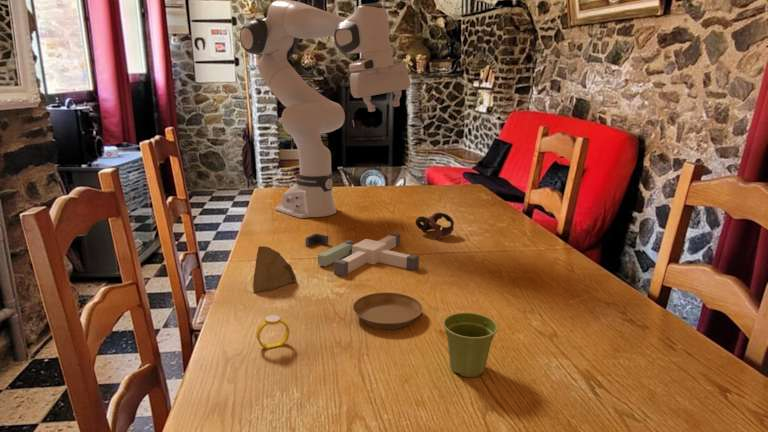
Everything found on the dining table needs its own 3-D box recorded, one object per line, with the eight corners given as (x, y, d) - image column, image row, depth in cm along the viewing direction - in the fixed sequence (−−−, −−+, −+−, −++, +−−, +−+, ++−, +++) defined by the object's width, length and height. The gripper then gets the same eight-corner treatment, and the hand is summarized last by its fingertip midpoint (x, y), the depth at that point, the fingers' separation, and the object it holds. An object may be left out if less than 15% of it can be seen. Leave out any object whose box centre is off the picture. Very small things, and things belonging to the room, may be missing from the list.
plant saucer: (369, 297, 120) (370, 287, 119) (430, 309, 115) (431, 298, 114) (340, 326, 107) (340, 314, 106) (408, 341, 101) (408, 329, 101)
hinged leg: (347, 250, 149) (347, 239, 148) (354, 251, 148) (354, 241, 147) (318, 264, 137) (317, 253, 137) (325, 266, 136) (325, 255, 135)
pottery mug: (447, 231, 170) (456, 213, 164) (447, 252, 163) (456, 234, 157) (412, 222, 169) (420, 204, 163) (410, 242, 162) (418, 224, 156)
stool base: (321, 270, 135) (321, 256, 133) (380, 240, 158) (380, 227, 157) (387, 288, 125) (387, 272, 124) (439, 252, 148) (440, 239, 147)
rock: (299, 266, 131) (259, 261, 130) (300, 247, 124) (258, 242, 124) (293, 304, 125) (251, 300, 124) (293, 287, 118) (249, 282, 117)
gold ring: (286, 341, 101) (287, 312, 100) (290, 347, 99) (291, 319, 97) (255, 345, 98) (255, 316, 97) (258, 352, 96) (259, 323, 95)
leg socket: (305, 246, 152) (305, 237, 151) (316, 241, 156) (315, 233, 156) (318, 249, 150) (317, 240, 149) (328, 244, 154) (328, 236, 153)
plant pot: (436, 354, 96) (438, 312, 94) (485, 353, 97) (489, 311, 95) (446, 384, 87) (448, 338, 85) (500, 382, 88) (504, 337, 86)
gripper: (398, 58, 161) (403, 103, 165) (344, 66, 150) (351, 114, 154) (411, 56, 156) (416, 103, 160) (356, 64, 145) (363, 114, 149)
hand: (384, 108), depth 157 cm, fingers open, 8 cm apart
